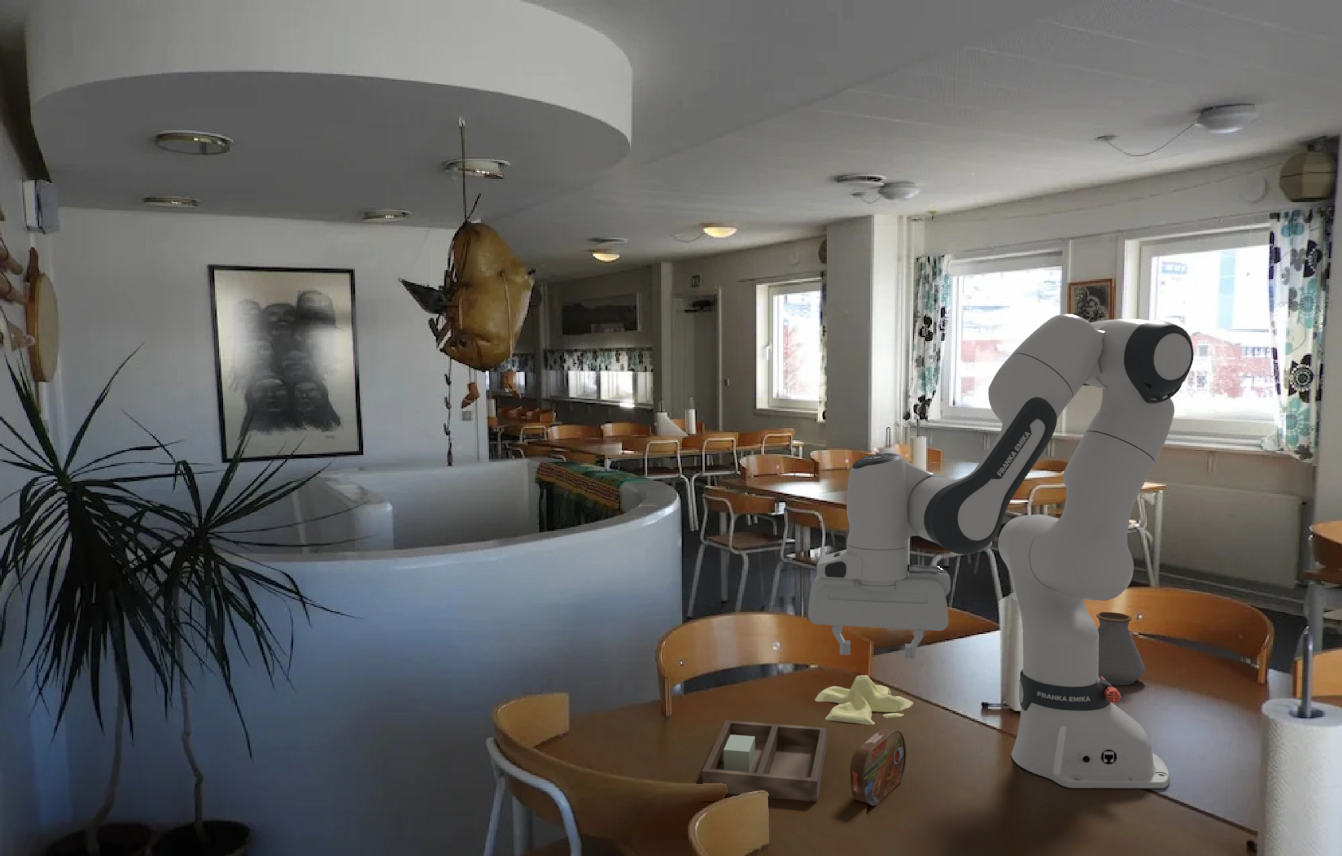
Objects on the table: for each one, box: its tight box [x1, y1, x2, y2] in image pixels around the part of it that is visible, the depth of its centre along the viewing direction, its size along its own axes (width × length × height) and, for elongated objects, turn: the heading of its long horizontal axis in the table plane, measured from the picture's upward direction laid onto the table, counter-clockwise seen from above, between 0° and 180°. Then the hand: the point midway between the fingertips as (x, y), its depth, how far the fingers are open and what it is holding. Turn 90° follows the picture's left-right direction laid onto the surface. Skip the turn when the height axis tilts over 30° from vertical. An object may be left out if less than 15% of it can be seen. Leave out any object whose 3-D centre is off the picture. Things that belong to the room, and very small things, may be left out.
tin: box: [849, 728, 907, 807], centre depth 136 cm, size 15×3×8 cm, turn 143°
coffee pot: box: [1095, 611, 1146, 686], centre depth 181 cm, size 21×12×15 cm, turn 105°
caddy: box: [701, 719, 828, 803], centre depth 143 cm, size 17×20×4 cm
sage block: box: [724, 735, 755, 772], centre depth 144 cm, size 4×6×4 cm, turn 166°
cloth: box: [814, 674, 914, 726], centre depth 171 cm, size 22×19×6 cm
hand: (877, 655), depth 135 cm, fingers open, 8 cm apart
